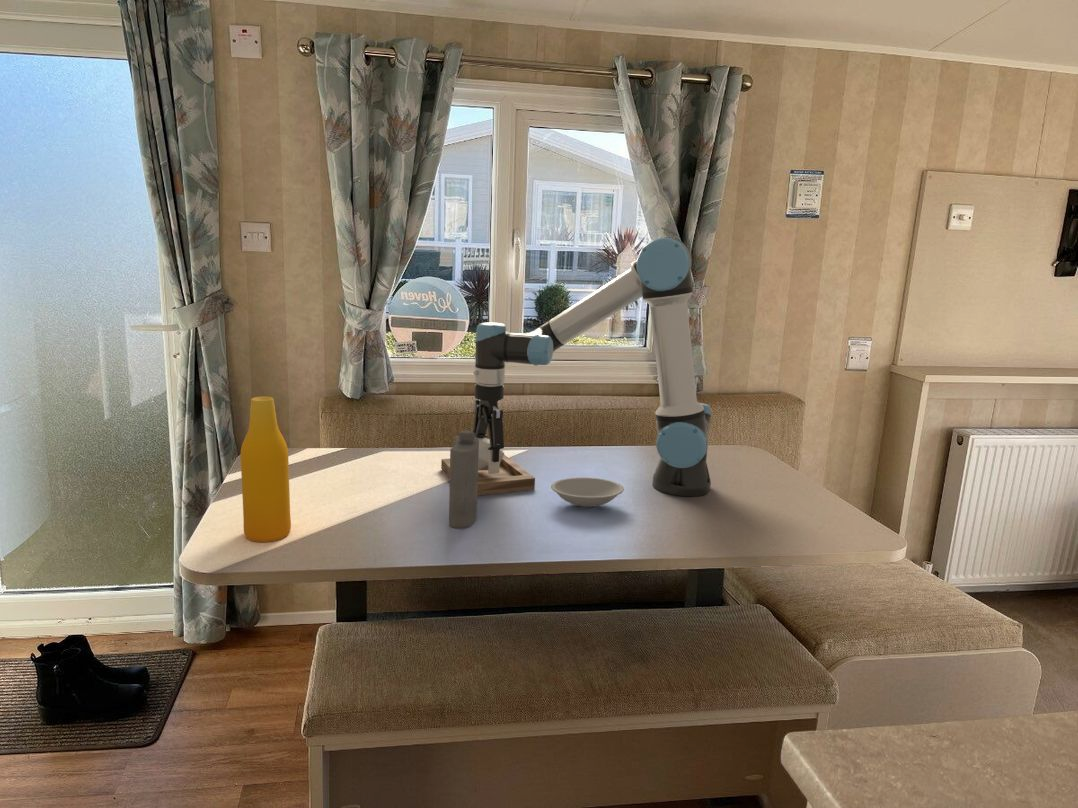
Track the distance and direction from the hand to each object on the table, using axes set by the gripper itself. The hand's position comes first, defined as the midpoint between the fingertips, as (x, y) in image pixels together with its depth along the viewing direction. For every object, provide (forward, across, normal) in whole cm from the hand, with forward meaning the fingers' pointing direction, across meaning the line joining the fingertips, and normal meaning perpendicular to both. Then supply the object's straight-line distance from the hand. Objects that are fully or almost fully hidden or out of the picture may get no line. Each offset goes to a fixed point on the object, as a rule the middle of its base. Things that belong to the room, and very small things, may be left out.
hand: (487, 467), depth 194 cm
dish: (+4, +26, +16) cm, 31 cm away
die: (+1, 0, 0) cm, 1 cm away
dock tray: (+3, 0, 0) cm, 3 cm away
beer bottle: (+3, +20, -56) cm, 60 cm away
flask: (+4, +23, -14) cm, 27 cm away
